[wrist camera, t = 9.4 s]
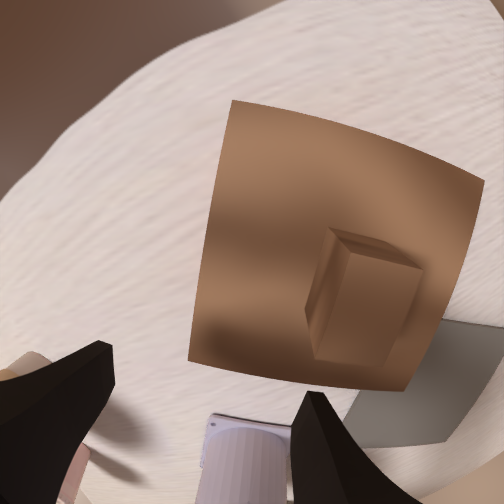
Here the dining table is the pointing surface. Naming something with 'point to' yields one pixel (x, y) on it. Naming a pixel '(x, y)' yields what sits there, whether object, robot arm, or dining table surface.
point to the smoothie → (74, 476)
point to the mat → (430, 390)
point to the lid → (327, 252)
